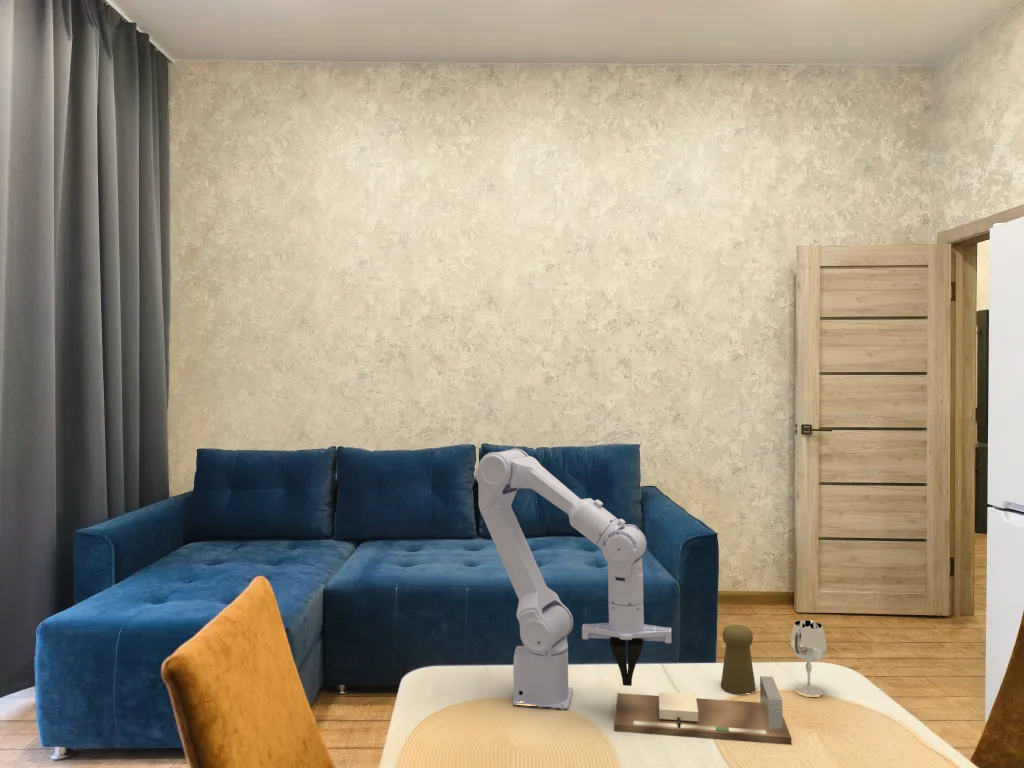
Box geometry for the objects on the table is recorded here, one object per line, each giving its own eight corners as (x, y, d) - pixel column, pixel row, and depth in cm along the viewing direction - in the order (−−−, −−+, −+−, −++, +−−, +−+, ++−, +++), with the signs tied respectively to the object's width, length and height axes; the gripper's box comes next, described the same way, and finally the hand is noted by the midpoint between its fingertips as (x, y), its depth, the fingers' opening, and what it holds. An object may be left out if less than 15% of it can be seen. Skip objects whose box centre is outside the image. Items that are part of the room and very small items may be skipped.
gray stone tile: (768, 731, 113) (768, 698, 113) (760, 706, 122) (760, 676, 122) (782, 732, 113) (782, 699, 113) (773, 707, 122) (772, 676, 122)
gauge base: (614, 730, 116) (614, 723, 116) (617, 698, 128) (617, 692, 128) (791, 744, 111) (791, 736, 111) (777, 709, 123) (777, 702, 123)
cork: (758, 696, 128) (757, 633, 128) (722, 693, 129) (721, 631, 129) (753, 682, 134) (753, 622, 134) (719, 680, 135) (718, 620, 135)
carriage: (659, 724, 115) (659, 714, 115) (659, 700, 124) (658, 691, 124) (699, 727, 114) (698, 717, 114) (695, 702, 123) (695, 693, 123)
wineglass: (786, 693, 129) (785, 624, 129) (799, 683, 134) (798, 617, 134) (819, 702, 125) (818, 632, 125) (831, 691, 130) (831, 623, 130)
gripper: (579, 606, 119) (581, 690, 119) (671, 609, 116) (672, 696, 116) (583, 594, 126) (585, 673, 126) (670, 597, 123) (671, 678, 123)
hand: (627, 683), depth 121 cm, fingers closed
